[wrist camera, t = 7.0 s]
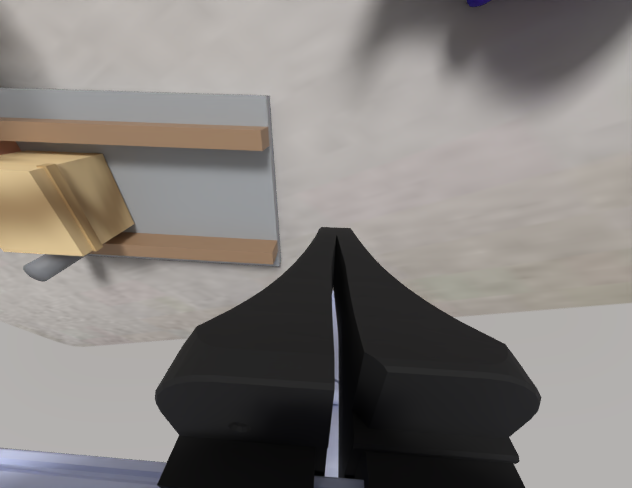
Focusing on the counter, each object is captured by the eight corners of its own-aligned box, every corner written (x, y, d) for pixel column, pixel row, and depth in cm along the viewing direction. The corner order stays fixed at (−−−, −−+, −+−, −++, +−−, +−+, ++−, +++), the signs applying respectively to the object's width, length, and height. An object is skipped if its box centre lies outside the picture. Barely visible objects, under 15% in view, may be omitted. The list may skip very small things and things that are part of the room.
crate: (136, 225, 21) (86, 257, 16) (69, 221, 21) (2, 252, 17) (104, 152, 17) (30, 169, 13) (23, 148, 17) (-74, 165, 13)
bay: (281, 260, 23) (269, 296, 19) (82, 249, 24) (28, 281, 20) (269, 95, 16) (246, 95, 11) (-21, 87, 16) (-143, 83, 12)
